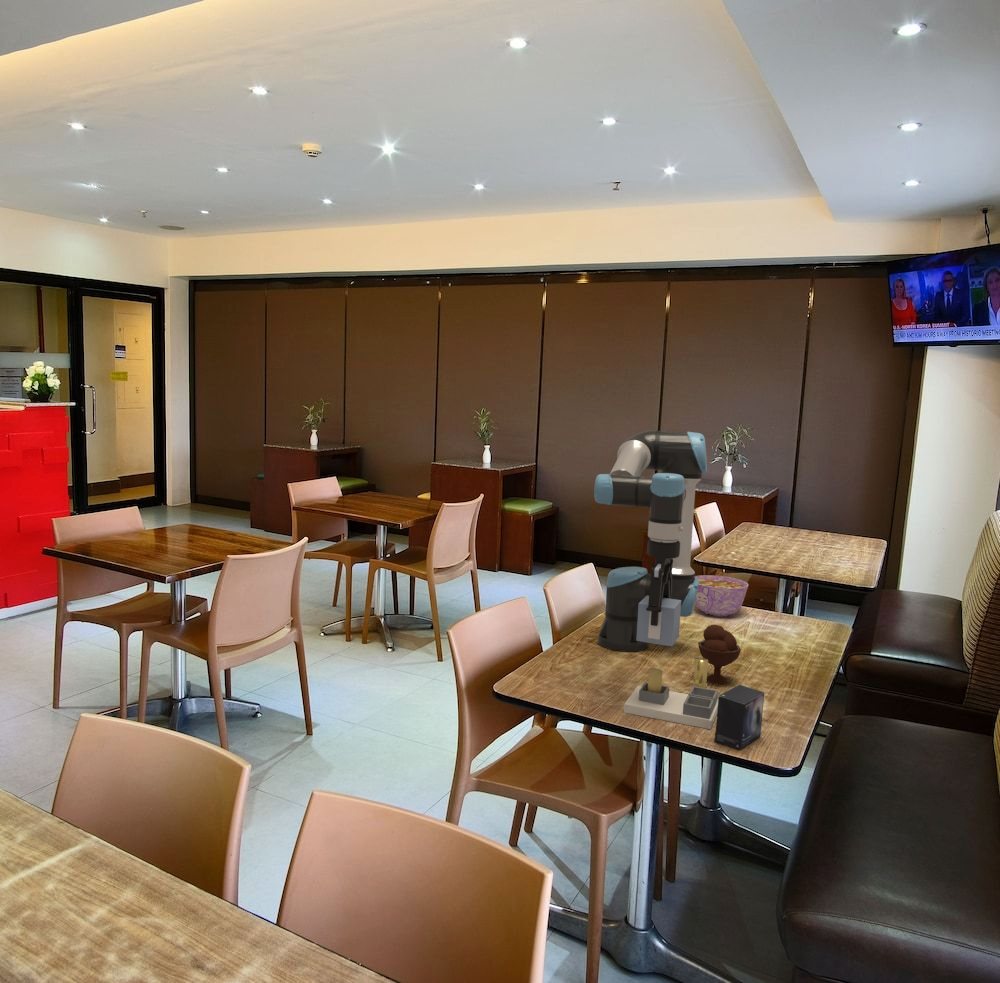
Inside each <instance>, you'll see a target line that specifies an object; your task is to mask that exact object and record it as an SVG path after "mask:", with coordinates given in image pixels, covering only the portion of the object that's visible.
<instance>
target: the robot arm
mask: <svg viewBox="0 0 1000 983" xmlns="http://www.w3.org/2000/svg"><path fill="white" fill-rule="evenodd" d="M616 453H617V454H616V456H617V457H616V458H617V459H616V461H615V463H614V465H613V467H612V468H611V471H610V473H601V474H598V475H597V476H596V478H595V480H594V487H593V488H594V490H593V492H594V494H593V496H594V501H595V502H596V503H597V504H601V505H602V504H603V505H607V506H623V507H625V506H626V507H640V508H649V519H648V528H647V537H648V538H649V539H648V540H647V545H646V546H647V548H646V554H647V555H648V556H649V557H653V558H655V561H654V563H653V564H652V567H651V568H650V573H648V569H647V568H645V567H641V566H625V567H624V566H623V567H617V568H615V569H612V570H610V571H609V573H608V574H607V579H606V580H607V581H606V585H605V587H606V591H605V592H606V593H605V594H606V597H605V612H604V613H605V614H604V619H603V622H602V625H601V626H600V629H599V632H598V635H597V643H598V645H600V646H602V647H603V648H606V649H609V650H612V651H619V652H640V651H644V650H647V649H648V648H649V644H650V643H648V642H641V641H636V638H637V622H638V605H639V603H640V602H641V601H642V600H643V599H644V598H645V597H646V596H649V602H648V608H646V611H650V613H649V629H648V638H652V639H659V640H660V634H661V618H662V612H661V605H662V599H663V598H669V599H676V600H681V613H680V618H682V617H683V618H687V617H688V618H689V617H691V616H692V614H693V612H694V608H695V599H696V594H697V590H698V585H699V579H698V578H695V576H696V574H695V573H696V572H695V570H694V569H693V568H692V567H691V560H692V558H691V557H692V543H693V540H692V539H693V530H694V529H693V528H694V527H693V526H694V514H695V511H694V510H695V500H696V499H695V498H696V485H697V484H698V483H699V482H701V481H702V476H703V475H704V474H707V473H708V458H707V445H706V437H705V436H704V435H703V434H702V433H700V432H692V431H675V430H673V431H671V430H654V429H651V430H645V431H642V432H639V433H636V434H633V435H631V436H629V437H628V438H626V439H625V440H624V441H623V442H622V443H621V445H620V446H619V448H618V450H617V452H616ZM645 470H649V471H650V470H651V471H660V472H659V473H657V472H656V473H654V474H653V475H652V476H641V475H642V473H643V471H645ZM653 605H655V606H653Z"/></svg>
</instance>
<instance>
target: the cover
mask: <svg viewBox="0 0 1000 983" xmlns="http://www.w3.org/2000/svg"><path fill="white" fill-rule="evenodd" d="M648 602H649V596H646V597H645V598H644V599H643V600H642V601H641V602H640V603H639V605H638V622H637V638H636V641H641V642H648V643H649V644H655V645H661V646H668V647H673V646H674V645H675V644H676V642H677V641H678V638H679V637H680V626H681V624H680V623H681V617H680V613H681V600H676V599H669V598H663V599H662V605H661V612H662V618H661V634H660V640H659V639H652V638H648V629H649V613H650V611H646V608H648ZM653 606H655V605H653Z"/></svg>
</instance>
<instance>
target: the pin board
mask: <svg viewBox="0 0 1000 983" xmlns="http://www.w3.org/2000/svg"><path fill="white" fill-rule="evenodd" d="M647 680H648V681H647V682H644V683H643V685H636V686H637V687H636V688H635V689H634V690H633V692H632V693H631V694H630V696H629V697H628V698H627V700H625V702H624V703H623V704H624V705H623V713H624V714H629V715H634V716H635V715H636V716H641V717H645V718H651V719H656V720H660V721H667V722H672V723H676V724H682V725H687V726H690V727H691V726H692V727H696V728H697V727H698V728H701V729H702V728H703V729H707V730H712V727H713V725H714V722H715V720H716V718H717V709H718V698H719V690H718V689H711V688H707V687H706V688H700V687H694V686H693V685H692V687H691V688H690V691H689V692H688V693H684V692H683V693H682V692H677V691H671V690H670V686H668V685H663V670H662V669H660V668H656V667H651V668H649V669H648V679H647Z"/></svg>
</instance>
